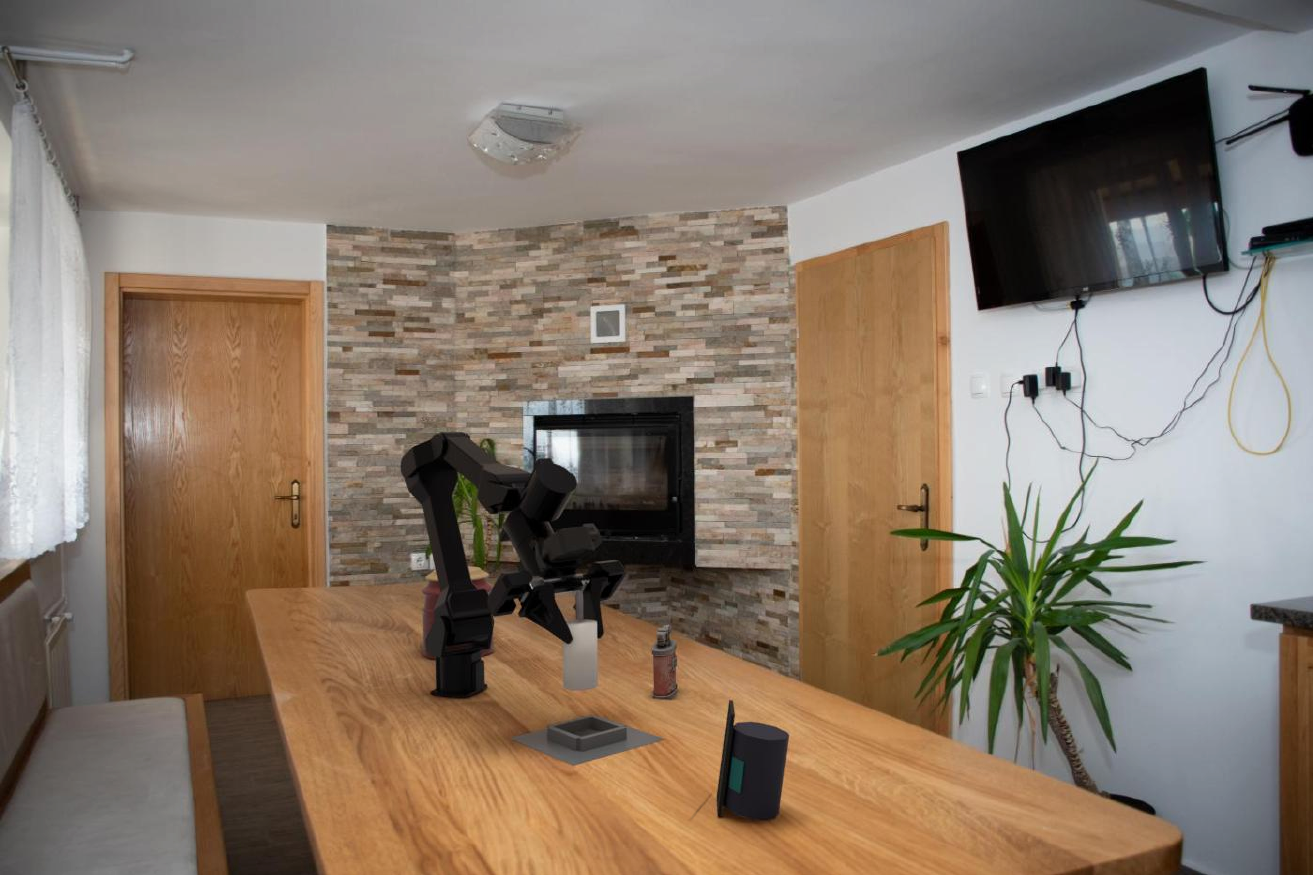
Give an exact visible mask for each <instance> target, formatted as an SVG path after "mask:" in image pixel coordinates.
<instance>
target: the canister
mask: <svg viewBox="0 0 1313 875" xmlns="http://www.w3.org/2000/svg"><path fill="white" fill-rule="evenodd" d="M468 568H469V573H470V577H471V581H472V583H473V584H474V585H475V586H476V587H477V588H478V589H483V588H484V589H485V590H486V591H487V593H488V596H489V594H490V592H491V590H492V589H493V587H494V585H493V584H491V583H490V582H488V580H487V578H488V577H489V576H490V575H489V574H490V573H488V572H486V571H485V570H483V569H482V568H481V567H478V566H471V565H470V566H469V565H468ZM425 580H426V581H427V584H426V585H424V587H423V588H421V590H420V592H421V594H422V595H423V606H422V607H421V612H422V641H421V645H422V646H421V648H422V651H423V656H424V657H426V658H428V659H432V660H436V656H434V655H431V654H428V653H427V651H426V645H425V638H426V636H427V634H428V632H429V630H430V628H431V627H432V625H433V623H434V621H435V619H434V608H435V605H436V602H437V600H438V597H439V594H440V588H439V583H438V578H437V574H436V569H435V568H434V570H432V572H431V573H429V574H427V575H426V576H425ZM494 645H495V636H494V633H493V634H492V640H491V645H490V649H488V650H486V649H485V650H481V656H482V657H483V656H487V655H489V654H491V653H492V652H493V651H494Z"/></svg>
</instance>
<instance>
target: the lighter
mask: <svg viewBox="0 0 1313 875" xmlns="http://www.w3.org/2000/svg"><path fill="white" fill-rule="evenodd" d="M671 635H672V626H671V625H670V624H665V625H663V626H662V627H658V628H657V632H656V642H654V643H653V645H652V646H651V655H652V661H653V662H652V663H653V664H652V669H653V670H652V672H653V674H652V675H653V690H652V699H654V700H665V701H666V700H667V701H672V700H674V699H675V697H677V695H678V683H677V667H678V656H677V655H676V650H677V648H678V647H677V646H678V644H677V643H678V642H677V640H676V639H674V638H673V639H672V638H671Z"/></svg>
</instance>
